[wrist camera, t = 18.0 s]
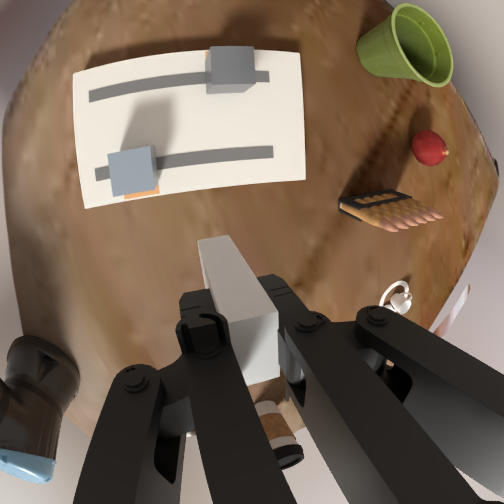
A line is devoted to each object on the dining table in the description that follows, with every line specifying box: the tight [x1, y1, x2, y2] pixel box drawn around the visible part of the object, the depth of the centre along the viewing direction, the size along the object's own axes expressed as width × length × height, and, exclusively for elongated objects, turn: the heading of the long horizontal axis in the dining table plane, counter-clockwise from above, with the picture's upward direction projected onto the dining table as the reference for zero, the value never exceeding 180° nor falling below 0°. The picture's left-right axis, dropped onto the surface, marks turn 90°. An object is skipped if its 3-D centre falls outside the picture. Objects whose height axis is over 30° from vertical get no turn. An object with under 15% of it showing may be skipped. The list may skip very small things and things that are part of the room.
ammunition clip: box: [338, 189, 443, 232], centre depth 34 cm, size 11×2×12 cm, turn 99°
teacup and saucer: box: [379, 281, 412, 314], centre depth 48 cm, size 9×8×4 cm
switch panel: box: [73, 50, 305, 209], centre depth 28 cm, size 26×16×3 cm, turn 93°
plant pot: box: [356, 3, 453, 87], centre depth 25 cm, size 12×12×11 cm
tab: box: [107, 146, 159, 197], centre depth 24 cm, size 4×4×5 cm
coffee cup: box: [254, 400, 304, 470], centre depth 45 cm, size 8×8×15 cm
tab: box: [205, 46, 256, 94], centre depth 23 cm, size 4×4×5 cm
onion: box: [411, 130, 449, 166], centre depth 34 cm, size 6×6×8 cm
